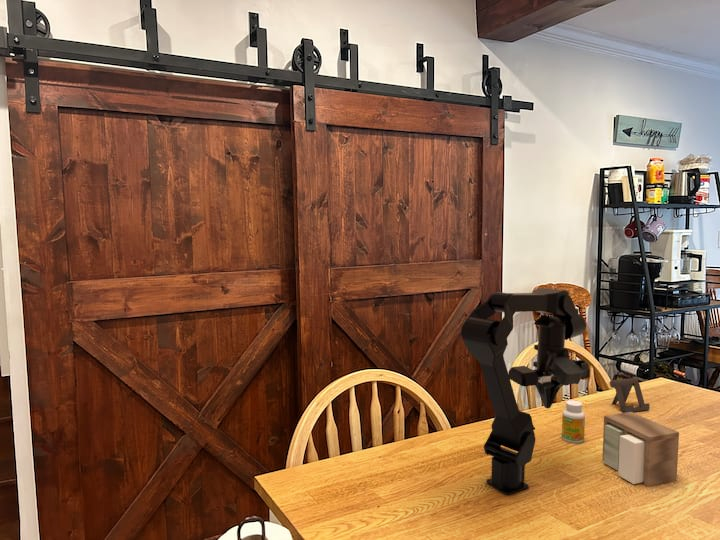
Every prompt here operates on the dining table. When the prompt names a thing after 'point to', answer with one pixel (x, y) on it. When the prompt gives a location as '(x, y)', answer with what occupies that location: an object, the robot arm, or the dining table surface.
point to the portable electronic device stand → (623, 391)
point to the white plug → (632, 458)
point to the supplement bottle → (573, 422)
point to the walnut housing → (658, 445)
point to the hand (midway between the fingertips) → (547, 407)
